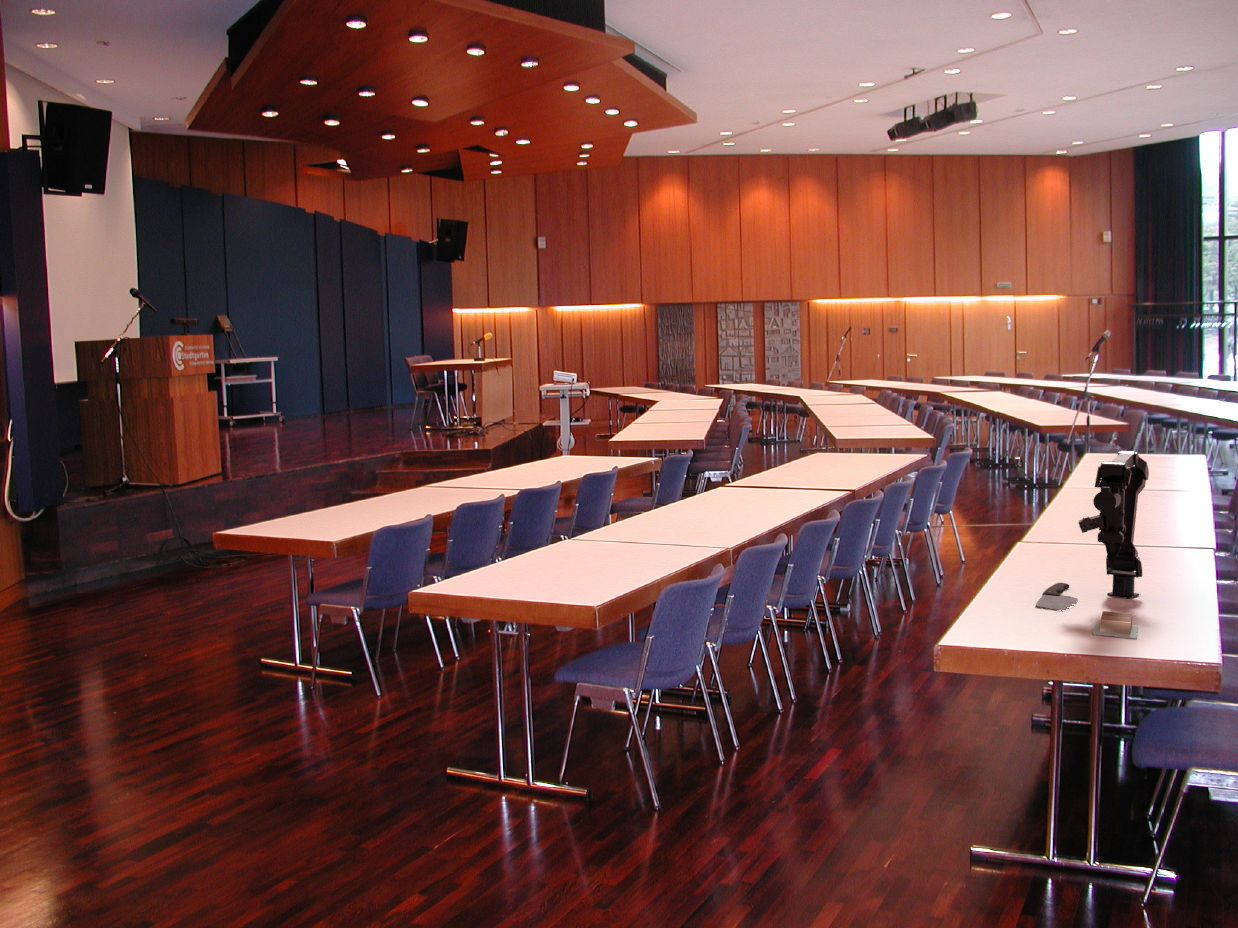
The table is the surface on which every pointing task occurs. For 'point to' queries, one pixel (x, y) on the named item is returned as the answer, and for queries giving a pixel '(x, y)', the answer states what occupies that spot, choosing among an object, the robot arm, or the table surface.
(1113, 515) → the robot arm
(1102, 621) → the slab
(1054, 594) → the cleaver
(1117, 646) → the table surface
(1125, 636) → the mat
